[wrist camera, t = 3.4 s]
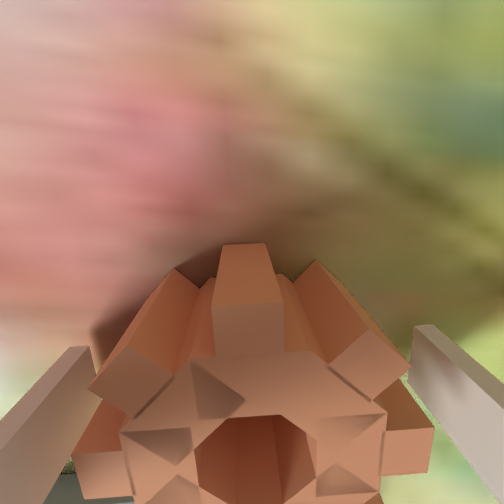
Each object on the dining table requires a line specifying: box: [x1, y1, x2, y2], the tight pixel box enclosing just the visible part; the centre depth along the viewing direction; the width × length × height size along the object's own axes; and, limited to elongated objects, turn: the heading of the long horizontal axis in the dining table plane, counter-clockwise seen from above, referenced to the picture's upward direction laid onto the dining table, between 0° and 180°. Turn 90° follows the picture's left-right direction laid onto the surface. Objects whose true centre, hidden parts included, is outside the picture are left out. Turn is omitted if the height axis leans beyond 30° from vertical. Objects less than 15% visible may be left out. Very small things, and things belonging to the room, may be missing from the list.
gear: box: [71, 243, 435, 504], centre depth 10 cm, size 9×9×5 cm
